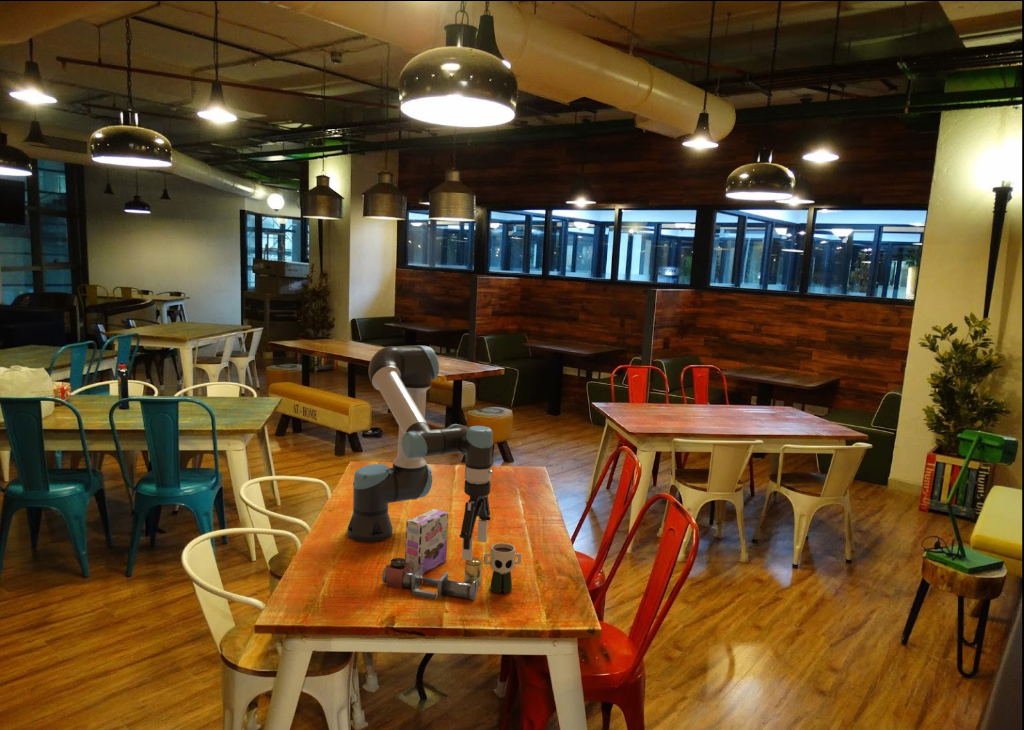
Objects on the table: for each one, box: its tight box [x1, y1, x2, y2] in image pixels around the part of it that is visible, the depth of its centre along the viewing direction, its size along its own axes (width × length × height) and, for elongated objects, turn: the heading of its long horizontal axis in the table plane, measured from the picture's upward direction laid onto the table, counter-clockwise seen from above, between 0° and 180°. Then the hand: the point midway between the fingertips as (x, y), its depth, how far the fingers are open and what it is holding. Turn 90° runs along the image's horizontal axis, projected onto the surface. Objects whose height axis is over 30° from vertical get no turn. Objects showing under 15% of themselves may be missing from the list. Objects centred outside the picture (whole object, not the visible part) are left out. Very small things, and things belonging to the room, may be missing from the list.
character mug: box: [483, 542, 522, 594], centre depth 202 cm, size 11×7×13 cm, turn 97°
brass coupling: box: [463, 557, 483, 587], centre depth 206 cm, size 5×5×7 cm
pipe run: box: [381, 557, 479, 601], centre depth 200 cm, size 27×9×7 cm, turn 75°
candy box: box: [404, 508, 449, 575], centre depth 214 cm, size 14×6×16 cm, turn 148°
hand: (474, 550), depth 205 cm, fingers open, 13 cm apart
